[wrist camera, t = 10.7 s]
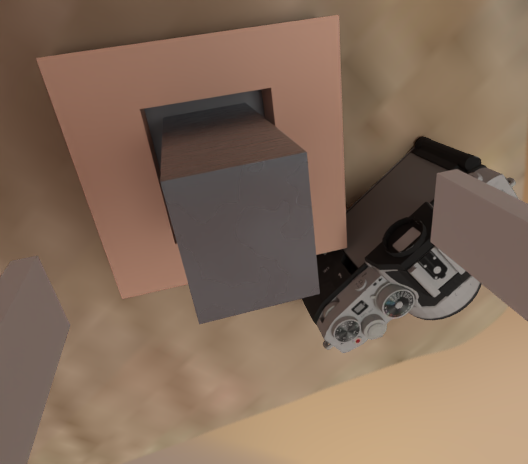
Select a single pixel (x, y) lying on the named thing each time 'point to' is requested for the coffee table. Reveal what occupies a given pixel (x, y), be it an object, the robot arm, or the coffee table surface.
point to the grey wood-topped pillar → (238, 210)
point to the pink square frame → (186, 101)
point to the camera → (395, 253)
